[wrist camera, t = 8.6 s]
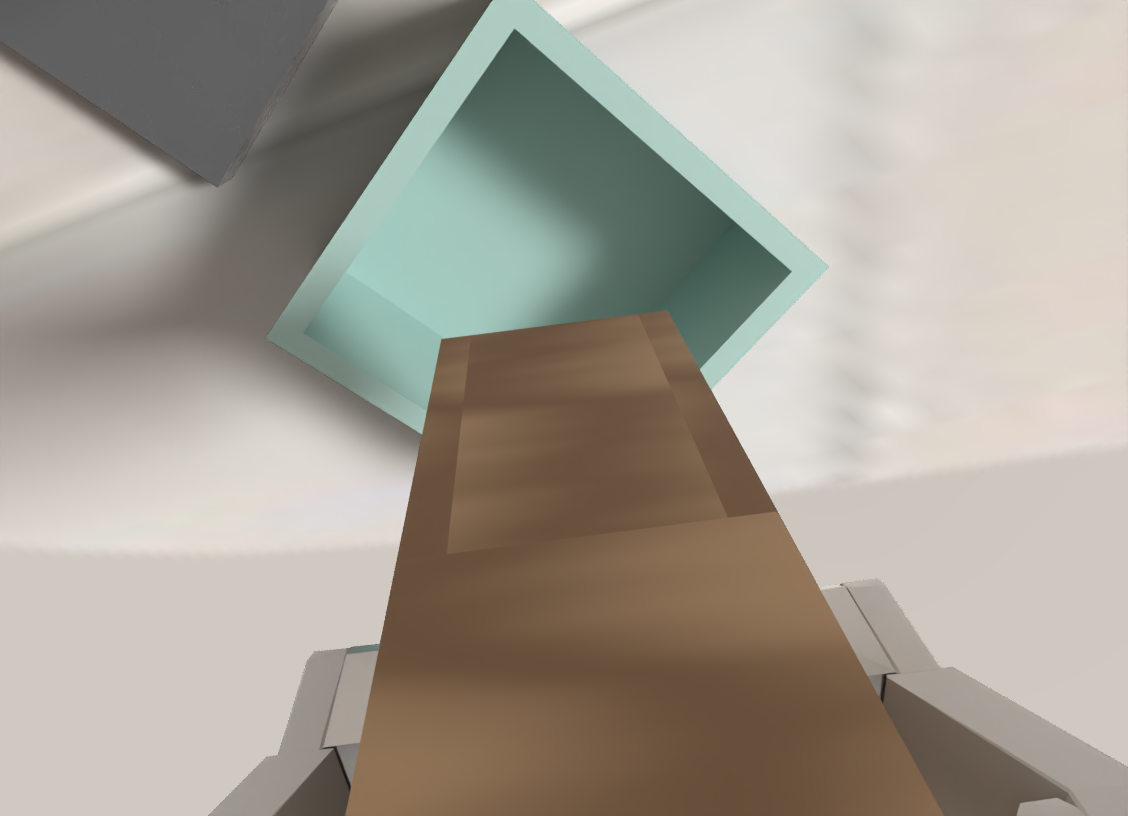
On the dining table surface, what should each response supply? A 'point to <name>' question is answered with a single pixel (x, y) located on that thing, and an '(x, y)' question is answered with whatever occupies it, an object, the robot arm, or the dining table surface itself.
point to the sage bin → (536, 224)
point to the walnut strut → (609, 606)
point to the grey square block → (173, 65)
